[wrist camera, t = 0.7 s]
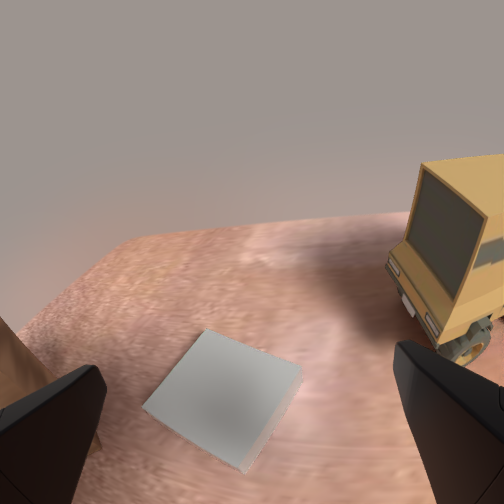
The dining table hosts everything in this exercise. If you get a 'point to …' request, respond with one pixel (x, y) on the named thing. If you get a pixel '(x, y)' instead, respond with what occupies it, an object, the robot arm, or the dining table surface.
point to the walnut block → (23, 373)
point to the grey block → (225, 398)
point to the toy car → (454, 254)
